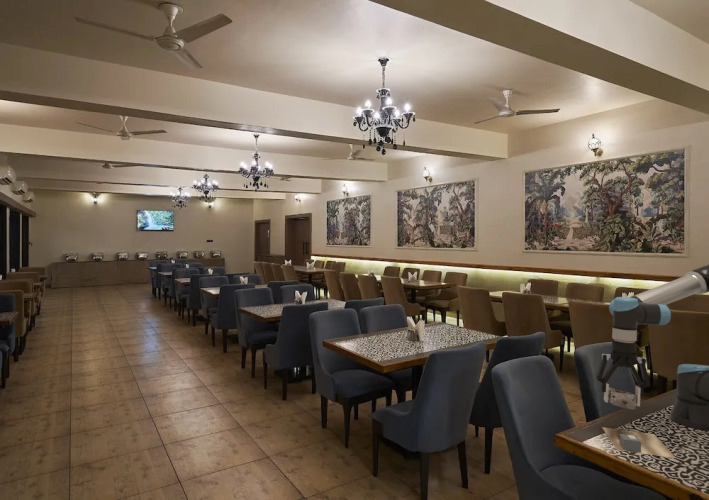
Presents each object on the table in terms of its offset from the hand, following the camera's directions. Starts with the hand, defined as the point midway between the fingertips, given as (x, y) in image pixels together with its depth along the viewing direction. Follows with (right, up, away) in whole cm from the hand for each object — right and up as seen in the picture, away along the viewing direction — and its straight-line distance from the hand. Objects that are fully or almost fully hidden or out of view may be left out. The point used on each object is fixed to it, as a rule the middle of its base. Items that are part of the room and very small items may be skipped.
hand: (621, 403), depth 160 cm
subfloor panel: (+2, -13, -4) cm, 14 cm away
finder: (-3, -12, -10) cm, 16 cm away
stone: (0, -1, 0) cm, 1 cm away
